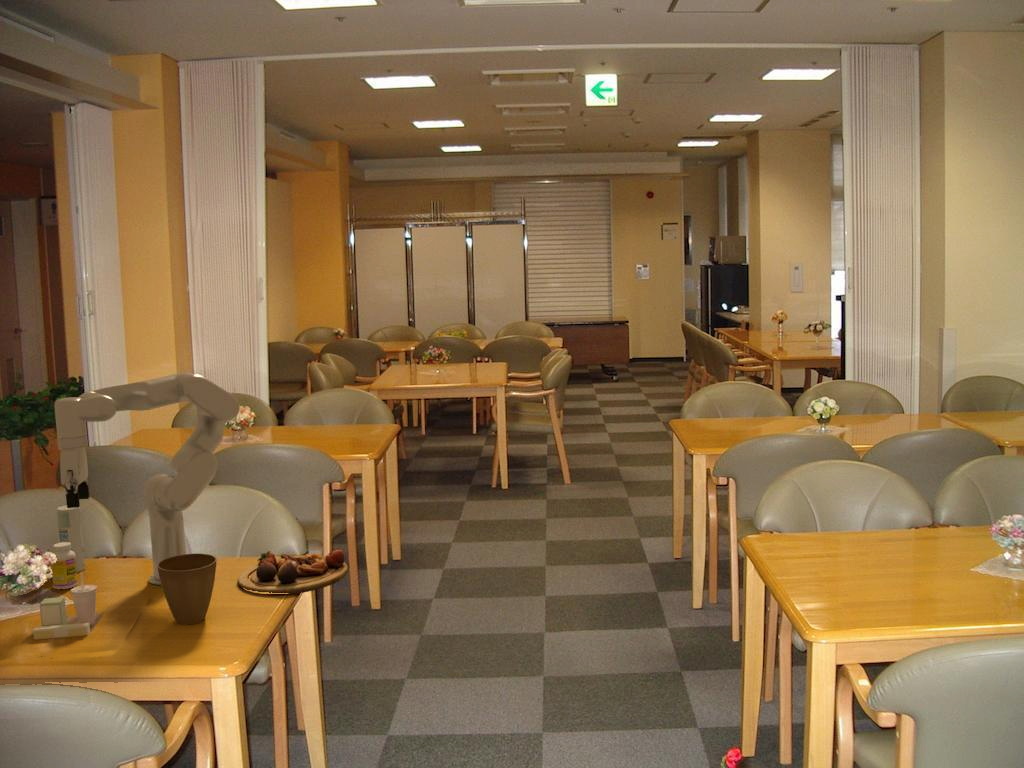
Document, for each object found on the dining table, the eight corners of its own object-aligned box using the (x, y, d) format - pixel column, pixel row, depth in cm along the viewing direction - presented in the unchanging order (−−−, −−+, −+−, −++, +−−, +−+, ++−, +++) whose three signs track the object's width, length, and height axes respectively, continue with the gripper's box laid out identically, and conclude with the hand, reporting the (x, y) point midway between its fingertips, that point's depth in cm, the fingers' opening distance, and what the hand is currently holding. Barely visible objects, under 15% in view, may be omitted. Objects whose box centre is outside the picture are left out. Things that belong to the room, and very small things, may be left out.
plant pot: (166, 634, 257) (161, 574, 255) (157, 616, 270) (153, 558, 268) (226, 623, 264) (221, 563, 262) (214, 606, 277) (210, 549, 275)
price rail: (90, 635, 258) (89, 622, 258) (88, 639, 256) (87, 625, 256) (37, 640, 256) (35, 626, 256) (34, 643, 254) (32, 630, 254)
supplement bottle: (68, 590, 294) (64, 548, 292) (48, 590, 295) (44, 547, 294) (82, 583, 300) (78, 541, 299) (63, 582, 302) (59, 540, 300)
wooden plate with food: (357, 560, 315) (355, 534, 314) (336, 594, 283) (334, 566, 282) (255, 565, 316) (253, 539, 315) (223, 599, 284) (221, 571, 283)
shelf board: (104, 616, 272) (104, 612, 272) (88, 638, 256) (88, 635, 256) (53, 620, 270) (53, 616, 270) (34, 643, 254) (34, 639, 254)
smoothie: (70, 629, 260) (65, 577, 258) (78, 620, 267) (73, 569, 265) (95, 627, 261) (91, 575, 259) (103, 618, 267) (98, 567, 265)
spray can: (89, 568, 314) (84, 506, 312) (70, 574, 309) (64, 511, 306) (77, 565, 318) (71, 503, 315) (58, 571, 313) (52, 508, 310)
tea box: (67, 622, 265) (64, 597, 264) (62, 628, 261) (59, 602, 260) (47, 624, 265) (44, 598, 264) (42, 630, 261) (39, 603, 260)
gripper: (67, 437, 286) (73, 496, 289) (48, 449, 269) (54, 511, 272) (95, 436, 287) (100, 494, 290) (78, 447, 270) (84, 510, 273)
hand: (78, 503), depth 281 cm, fingers open, 9 cm apart
